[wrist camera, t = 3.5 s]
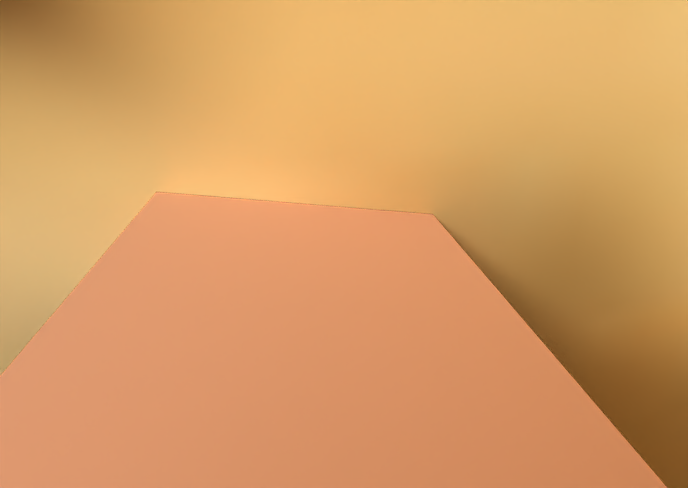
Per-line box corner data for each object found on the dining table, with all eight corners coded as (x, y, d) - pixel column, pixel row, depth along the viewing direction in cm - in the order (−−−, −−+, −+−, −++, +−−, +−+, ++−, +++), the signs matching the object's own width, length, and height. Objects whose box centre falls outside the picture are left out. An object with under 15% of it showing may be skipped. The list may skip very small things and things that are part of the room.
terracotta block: (386, 404, 10) (503, 820, 5) (169, 405, 9) (9, 915, 4) (433, 214, 8) (742, 576, 3) (156, 192, 7) (-248, 667, 2)
